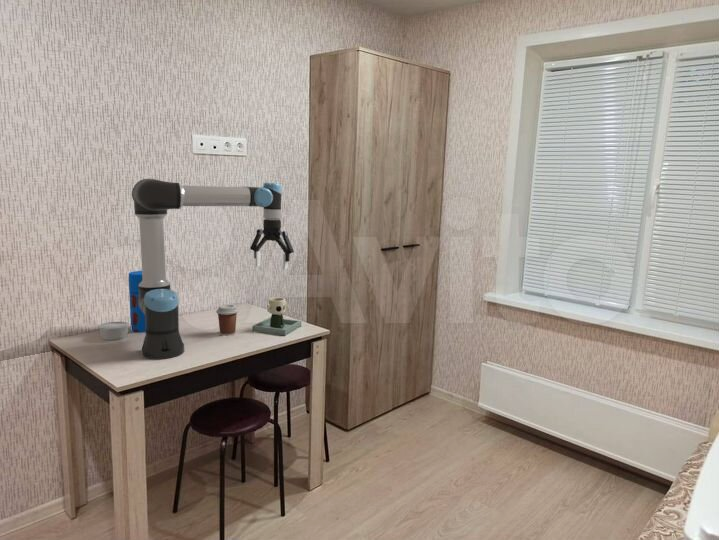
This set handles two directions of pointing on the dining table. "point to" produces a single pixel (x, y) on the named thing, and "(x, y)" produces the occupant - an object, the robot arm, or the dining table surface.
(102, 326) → the ramekin
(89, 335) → the dining table surface
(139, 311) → the thermos
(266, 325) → the tray
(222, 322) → the coffee cup
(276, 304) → the character mug
